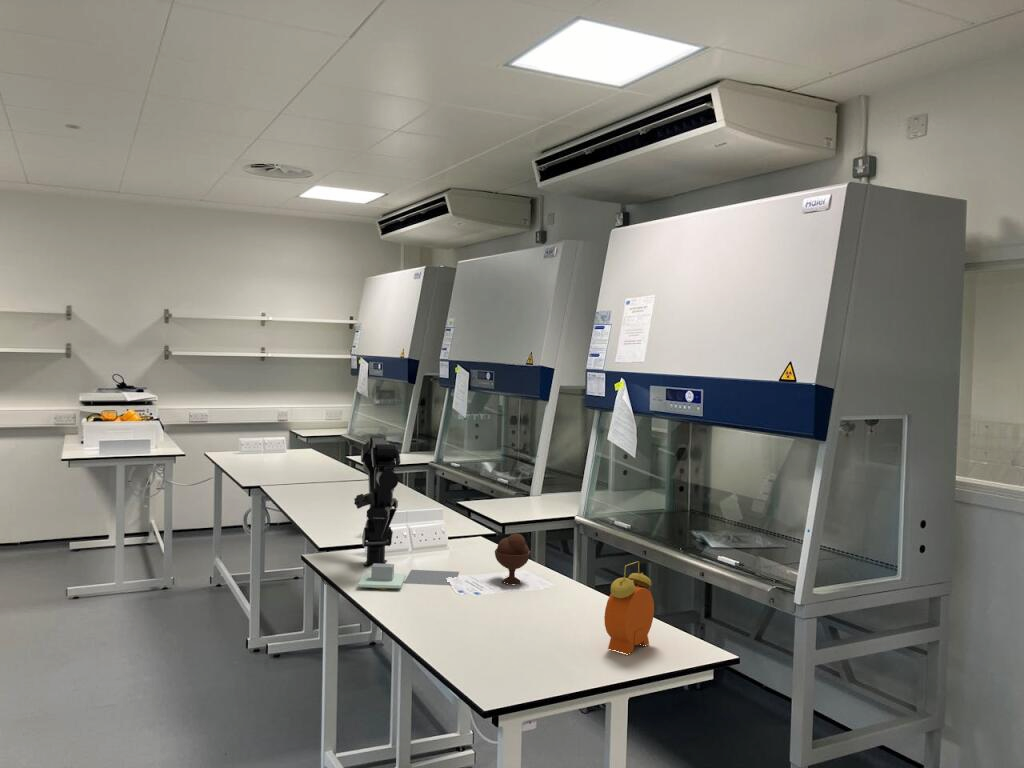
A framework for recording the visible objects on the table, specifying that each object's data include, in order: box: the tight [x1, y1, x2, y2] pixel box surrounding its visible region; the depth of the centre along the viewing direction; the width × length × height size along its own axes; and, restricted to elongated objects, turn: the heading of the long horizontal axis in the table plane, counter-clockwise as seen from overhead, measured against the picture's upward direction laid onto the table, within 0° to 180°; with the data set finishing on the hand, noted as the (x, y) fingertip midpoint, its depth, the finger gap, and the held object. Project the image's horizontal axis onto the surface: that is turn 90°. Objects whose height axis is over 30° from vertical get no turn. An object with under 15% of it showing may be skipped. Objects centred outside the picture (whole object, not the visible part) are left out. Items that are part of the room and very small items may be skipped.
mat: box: [403, 569, 460, 586], centre depth 238 cm, size 15×15×1 cm
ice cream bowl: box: [494, 533, 531, 585], centre depth 238 cm, size 11×11×15 cm
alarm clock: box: [603, 561, 655, 654], centre depth 187 cm, size 13×6×20 cm, turn 141°
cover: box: [357, 563, 407, 589], centre depth 229 cm, size 12×12×5 cm
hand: (381, 535), depth 240 cm, fingers open, 9 cm apart
